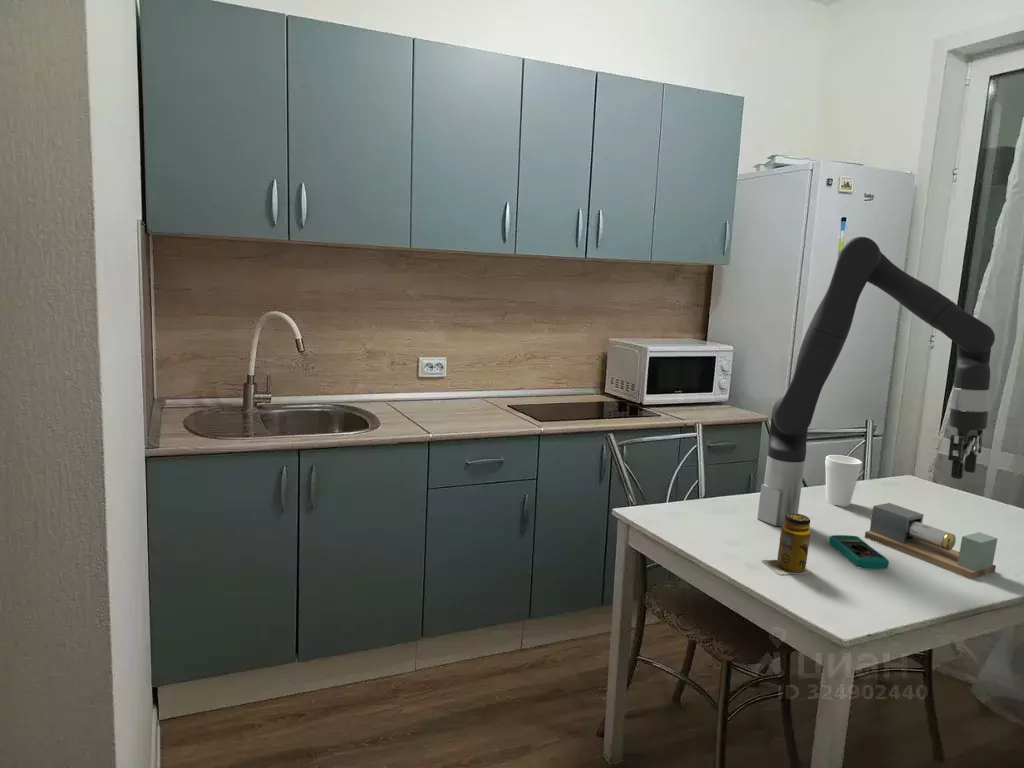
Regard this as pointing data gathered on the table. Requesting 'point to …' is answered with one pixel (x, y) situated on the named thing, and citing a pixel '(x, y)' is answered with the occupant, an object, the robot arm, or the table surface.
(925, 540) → the tube
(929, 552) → the board
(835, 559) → the table surface
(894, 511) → the sleeve
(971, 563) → the socket
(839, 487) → the foam cup
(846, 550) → the digital multimeter
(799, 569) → the condiment
